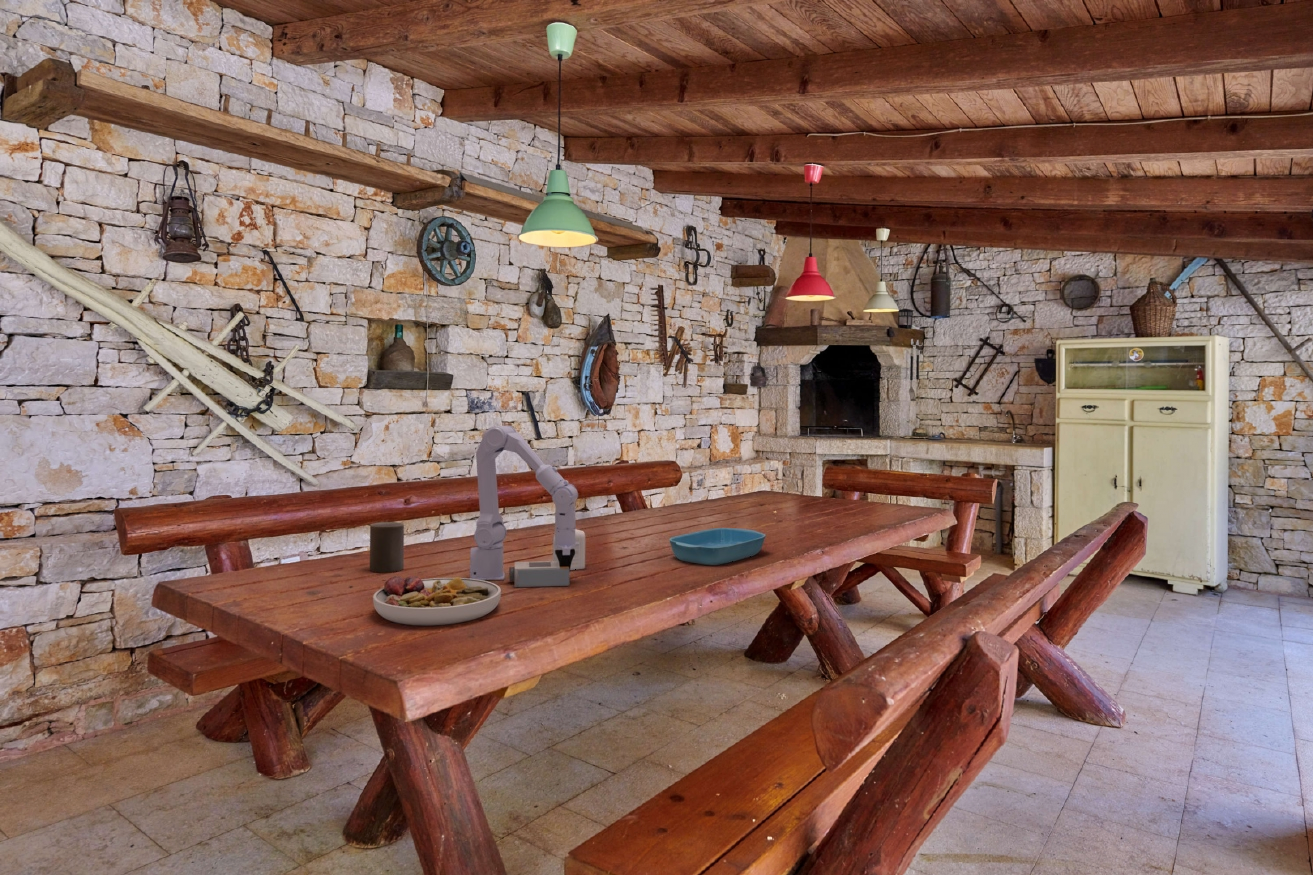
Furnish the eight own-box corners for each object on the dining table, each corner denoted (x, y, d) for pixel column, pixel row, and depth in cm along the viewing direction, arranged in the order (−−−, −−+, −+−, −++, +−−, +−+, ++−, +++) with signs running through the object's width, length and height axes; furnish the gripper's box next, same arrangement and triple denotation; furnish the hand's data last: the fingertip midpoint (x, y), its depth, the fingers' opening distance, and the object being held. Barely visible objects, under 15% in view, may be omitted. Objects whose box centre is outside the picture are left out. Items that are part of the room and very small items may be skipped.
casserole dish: (711, 571, 241) (711, 548, 241) (656, 560, 256) (656, 538, 256) (776, 553, 269) (777, 533, 269) (723, 545, 284) (723, 525, 283)
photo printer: (580, 566, 245) (580, 526, 244) (587, 569, 241) (587, 528, 240) (550, 570, 239) (550, 529, 238) (556, 572, 235) (557, 531, 235)
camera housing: (508, 586, 217) (509, 568, 217) (509, 579, 226) (509, 561, 226) (558, 585, 220) (558, 567, 219) (557, 578, 228) (557, 560, 228)
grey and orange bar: (514, 587, 216) (514, 570, 216) (514, 584, 220) (514, 567, 220) (569, 585, 219) (569, 569, 218) (568, 582, 222) (568, 566, 222)
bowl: (519, 600, 204) (520, 570, 204) (466, 634, 175) (466, 599, 175) (415, 592, 211) (414, 563, 211) (346, 624, 182) (346, 590, 181)
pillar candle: (382, 574, 230) (382, 523, 230) (362, 569, 236) (363, 519, 235) (410, 569, 238) (411, 519, 237) (391, 564, 244) (391, 516, 243)
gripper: (581, 531, 217) (580, 580, 217) (577, 523, 231) (577, 569, 232) (555, 532, 215) (555, 581, 216) (553, 523, 230) (553, 569, 230)
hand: (564, 575), depth 224 cm, fingers closed
